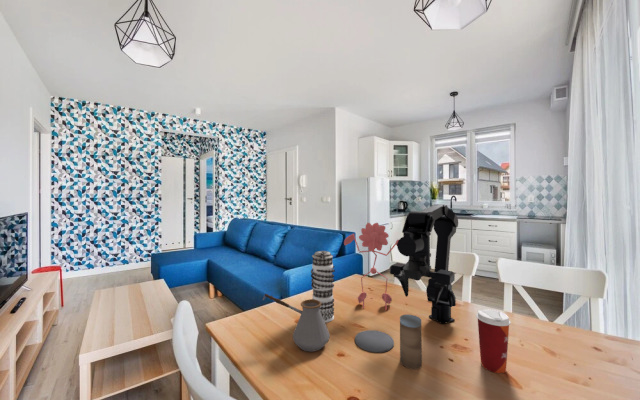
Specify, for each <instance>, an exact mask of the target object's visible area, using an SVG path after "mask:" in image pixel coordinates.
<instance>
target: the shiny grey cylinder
mask: <svg viewBox="0 0 640 400" xmlns="http://www.w3.org/2000/svg"><path fill="white" fill-rule="evenodd" d="M422 335H423V334H422V319H421V317H419V316H417V315H414V314H402V315H400V316H399V362H400V364H401V366H403V367H405V368H407V369H410V370H418V369H420V368H421V367H422V366H423V360H422V359H423V357H422V356H423V354H422V353H423V352H422V351H423V348H422V347H423V344H422V343H423V342H422V337H423V336H422Z"/></svg>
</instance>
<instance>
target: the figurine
mask: <svg viewBox="0 0 640 400" xmlns="http://www.w3.org/2000/svg"><path fill="white" fill-rule="evenodd" d="M360 230H361V235H359V236H358V239H359V240H360V241H361V242H362V243H361V246H362V247H363V248H367V249H368V250H362V251H361V250H360V248H359V245H358V242H357V239H356V236H355V233H352V234H349V235H348V236H347V237H345V239H344V241H343V244H344V246H346V245H349V244H351V243H352V242H353V241H354V242H355V245H356V248H357V252H359V253H368V252H372V253H373V254H374V256H375V257H374V261H373V265H372V267H371V268H370V270H369V271H368V272H367V273H365V275H363V276H362V277H360V283H361V291H362V292H361V293H360V294H359V295H358V296H357V301H358V303H359V304H361V303H362V309H365V300H366V298H367V297H368V295H367V292H366V291H364V286H363V278H364V277H366V276H367V275H369V274H370V273H371V274H372V275H375V274H376V273H377V274H379V275H380V276H382V277H383V278H385V279H386V281H385V293H382V295H381V297H380V299H382V300H383V302H384V306H385V307H384V308H385V311H387V310H388V307H387V305H390V304H391V303H392V301H393V300H392V296H391V295H390V294H389V293H387V288H388V277H387V276H385V275H383V274H382V273H381V272H378V271H377V268H376V267H375V264H376V262H377V261H376V260H377V257H378V255H377V254H380V255H383V256H386V257H388V256H389V254H390V253H391V252H392V251H393V249H394V248H395V246H397V243H398V241H399V239H397V240H396V241H395V242H394V244H393V246H392V247H391V248H390V249H389V250H388V252H387V253H384V252H380V251H382V249H383V246H388V244H389V241H388V239H387V238H389V233H387V232H386V226H385V225H379V223H378V222H375V223H373V224H371V223H370V222H367V223H366V224H365V227H364V228H361V229H360Z"/></svg>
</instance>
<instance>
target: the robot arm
mask: <svg viewBox="0 0 640 400" xmlns="http://www.w3.org/2000/svg"><path fill="white" fill-rule="evenodd" d="M408 212H409V213H407V215H406V218H405V222H404V224H403V228H402V231H401V232H402V233H403V236H402V237H400V238H399V239H398V240H399V241H398V243H397V245H396V247H397V250H398V252H399V253H400V255H402V256H404V257H408V261H407V262H406V263H402V262H401V263H400V262H395V263H394V264H391V265H390V267H389V274H390V275H393V277H394V278H396V279H397V280H398V281H399V283H400V285H401V288H402V291H403V293H404V295H405V297H409V283H410V281H409V280H413V281H420V280H421V279H422V277H424V278H425V277H426V278H429V279H428V280H427V282H428V283H427V286H426V296H427V297H426V298H427V302H430V303H431V309H430V310H431V311H430V312H431V314H430V315H428V318H430V319H432V320H434V321H435V322H437V323H440V324H441V325H444V324H448V323H452V322H455V321H456V320H455V318H453V317H452V307H456V305H457V304H456V303H457V300H456V295H455V292H454V290H453V285H452V284H453V283H454V282H455V281H456V279H455V273H454V272H453V271H452V270H449V265H450V254H451V252H450V251H451V239H452V238H453V237H454V235H455V234H456V232H457V228H458V227H459V219H458V216H457V214H456V212H454V211H452V209H449V207H448V205H447V204H445V203H444V204H441V203H440V204H437V203H436V204H434V203H433V204H432V205H431V206H429V207H427V208H426V209H424V210H423V209H422V210H412V211H408ZM433 230H434V232H435V234H436V236H437V238H436V249H435V259H434V260H435V261H434V271H431V270H432V265H431V258H432V253H431V246H430V245H431V241H430V240H431V239H430V238H431V237H430V236H431V234H432V231H433Z"/></svg>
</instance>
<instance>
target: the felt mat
mask: <svg viewBox="0 0 640 400" xmlns="http://www.w3.org/2000/svg"><path fill="white" fill-rule="evenodd" d="M354 342H355V344H356V346H357V347H359V348H360V349H362V350H364V351H367V352H369V353H376V354H377V353H381V354H382V353H386V352H389V351H390V350H392V349H393V348H394V347H395V346H394V345H395V341H394V339H393V337H392V336H390V335H389V334H388V333H386V332H383V331H379V330H374V329H373V330H371V329H368V330H363V331H362V330H361V331H360V332H358V333H357V334H356V335H355V337H354Z"/></svg>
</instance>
